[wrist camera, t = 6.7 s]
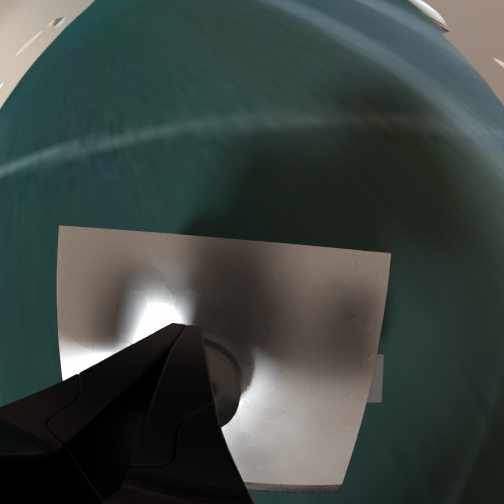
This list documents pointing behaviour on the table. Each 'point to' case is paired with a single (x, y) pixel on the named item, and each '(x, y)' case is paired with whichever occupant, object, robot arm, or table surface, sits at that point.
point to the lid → (240, 336)
